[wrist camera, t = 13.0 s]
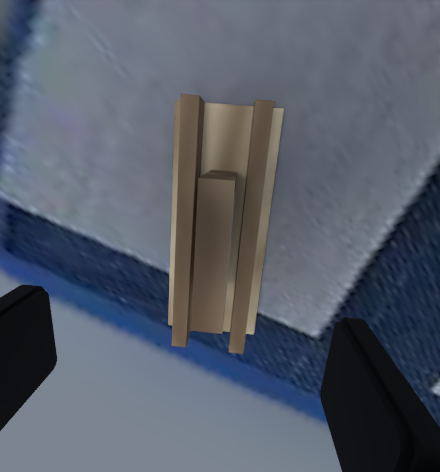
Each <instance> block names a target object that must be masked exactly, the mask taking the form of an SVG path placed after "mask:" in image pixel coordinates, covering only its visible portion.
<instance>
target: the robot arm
mask: <svg viewBox="0 0 440 472" xmlns="http://www.w3.org/2000/svg"><path fill="white" fill-rule="evenodd" d="M56 362H57V355H56V347H55V339H54V332H53V324H52V316H51V309H50V301H49V295H48V293H47V292H46V291H45V290H44V288H43V287H41V286H32V285H21V286H19V287H17V288H15V289H14V290H12V291H11V292H9V293H7V294H6V295H4V296H3V297H1V298H0V431H1V430H2V428H3V427H4V426H5V425H6V424H7V423H8V421H9V420H10V419H11V418H12V417H13V416H14V415H15V413H16V412H17V411H18V410H19V409H20V408H21V406H22V405H23V404H24V403H25V402H26V400H27V399H28V398H29V397H30V396H31V395H32V394H33V393H34V391H35V390H36V389H37V388H38V386H40V384H41V383H42V382H43V381H44V380H45V379H46V377H47V376H48V375H49V374H50V373H51V371H52V370H53V369H54V367H55V365H56ZM321 402H322V406H323V409H324V412H325V416H326V419H327V422H328V426H329V429H330V432H331V436H332V439H333V442H334V446H335V449H336V452H337V455H338V459H339V462H340V466H341V469H342V472H440V427H439V426H438V425H437V423H436V422H435V420H434V419H433V417H432V416H431V415H430V413H429V412H428V410H427V409H426V407H425V406H424V404H423V403H422V402H421V400H420V399H419V397H418V396H417V394H416V393H415V392H414V390H413V389H412V387H411V386H410V384H409V383H408V381H407V380H406V379H405V377H404V376H403V374H402V373H401V372H400V371H399V369H398V368H397V366H396V365H395V364H394V362H393V361H392V359H391V358H390V356H389V355H388V353H387V352H386V351H385V349H384V348H383V346H382V345H381V343H380V342H379V340H378V339H377V338H376V336H375V335H374V333H373V332H372V330H371V329H370V327H369V326H368V325H367V323H366V322H365V321H364V320H363V319H355V318H345V317H344V318H342V320H341V322H338V321H337V322H336V323H335V326H334V331H333V336H332V340H331V345H330V349H329V354H328V359H327V363H326V368H325V372H324V377H323V381H322V386H321Z"/></svg>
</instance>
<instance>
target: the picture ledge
mask: <svg viewBox="0 0 440 472" xmlns="http://www.w3.org/2000/svg"><path fill="white" fill-rule="evenodd" d="M283 112H284V109H281V108H274V101H266V100H255V103H254V106H241V105H228V104H215V103H205V102H204V101H203V100H202V98H201V97H200V96H199V95H186V94H181V101H176V100H175V122H174V154H173V186H172V218H171V250H170V282H169V315H168V325H172V346H179V347H186V345H187V342H188V338H189V335H190V331H191V317H192V297H193V276H194V256H195V235H196V215H197V195H198V178H199V177H201V176H202V175H204V174H206V173H207V172H209V171H211V170H220V171H232V172H237V178H236V189H235V201H234V212H233V224H232V235H231V247H230V258H229V270H228V281H227V291H226V301H225V310H224V320H223V329H222V331H227V332H230V340H229V352H231V353H240V354H243V351H244V343H245V335H246V334H254V329H255V322H256V314H257V307H258V299H259V292H260V284H261V277H262V269H263V262H264V254H265V247H266V239H267V232H268V224H269V217H270V209H271V202H272V194H273V187H274V179H275V172H276V164H277V157H278V149H279V142H280V134H281V127H282V119H283Z"/></svg>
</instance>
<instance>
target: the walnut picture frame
mask: <svg viewBox="0 0 440 472" xmlns="http://www.w3.org/2000/svg"><path fill="white" fill-rule="evenodd" d="M236 178H237V172H232V171H220V170H211V171H209V172H207V173H206V174H204V175H202V176H201V177H199V178H198V195H197V215H196V235H195V256H194V276H193V297H192V317H191V331H200V332H209V333H219V334H222V329H223V320H224V310H225V301H226V291H227V281H228V270H229V258H230V247H231V235H232V224H233V212H234V201H235V189H236Z"/></svg>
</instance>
